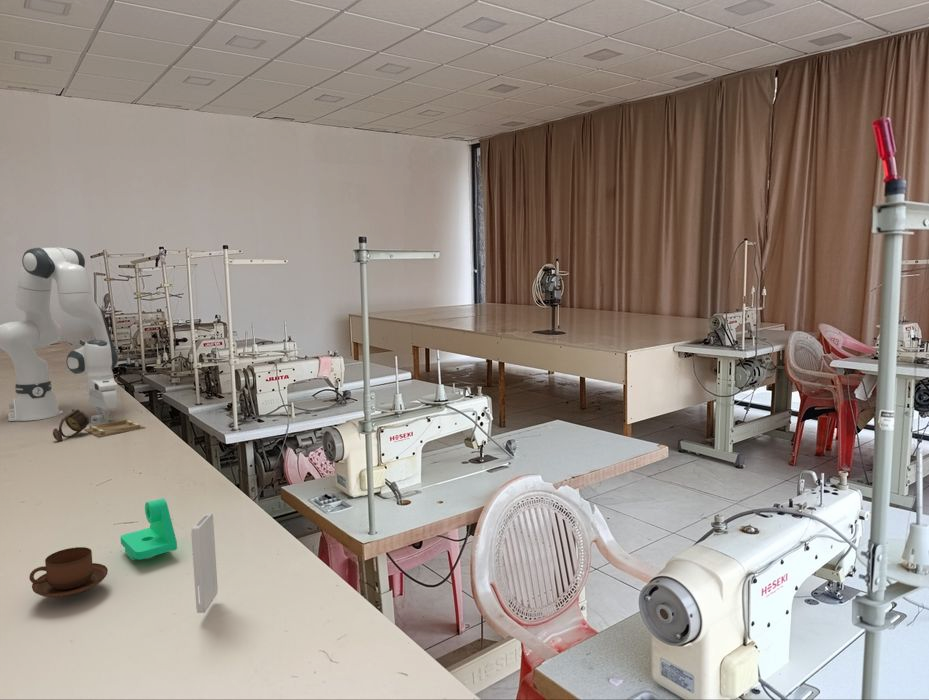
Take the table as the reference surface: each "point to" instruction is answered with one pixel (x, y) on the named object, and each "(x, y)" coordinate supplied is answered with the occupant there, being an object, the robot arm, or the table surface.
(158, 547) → the camera mount
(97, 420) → the usb wall charger
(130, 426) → the picture frame
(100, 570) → the cup and saucer
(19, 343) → the robot arm
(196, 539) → the phone case
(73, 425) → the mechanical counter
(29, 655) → the table surface
